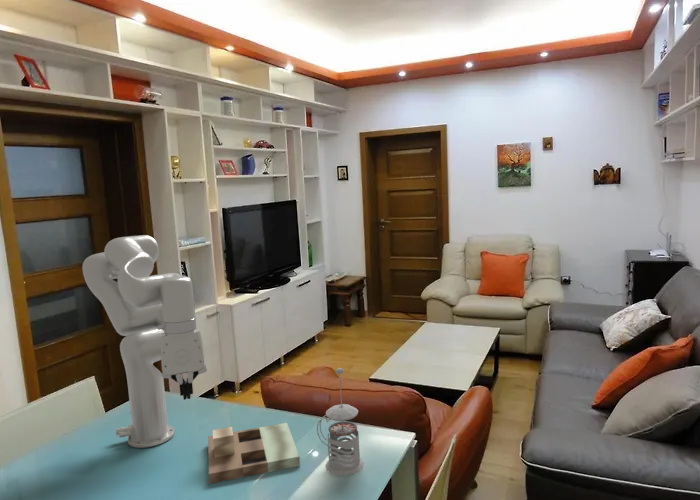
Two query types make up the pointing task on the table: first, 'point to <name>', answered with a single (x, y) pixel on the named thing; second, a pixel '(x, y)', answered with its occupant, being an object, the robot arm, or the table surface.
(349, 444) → the french press
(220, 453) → the maple block
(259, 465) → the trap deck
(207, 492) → the table surface
